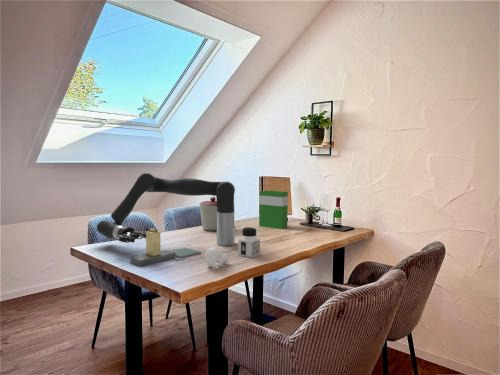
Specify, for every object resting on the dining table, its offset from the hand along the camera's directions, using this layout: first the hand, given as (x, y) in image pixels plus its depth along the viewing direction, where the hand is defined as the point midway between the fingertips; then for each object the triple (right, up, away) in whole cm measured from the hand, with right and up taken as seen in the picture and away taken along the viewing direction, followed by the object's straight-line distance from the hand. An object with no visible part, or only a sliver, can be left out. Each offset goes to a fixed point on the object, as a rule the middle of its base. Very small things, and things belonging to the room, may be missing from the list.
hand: (142, 238), depth 166 cm
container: (+49, -9, +6) cm, 50 cm away
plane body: (+7, -9, -5) cm, 12 cm away
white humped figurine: (+36, -10, -13) cm, 39 cm away
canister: (+26, -4, +67) cm, 72 cm away
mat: (+17, -8, +7) cm, 21 cm away
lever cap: (+7, -9, -5) cm, 12 cm away
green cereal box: (+65, -3, +79) cm, 102 cm away
